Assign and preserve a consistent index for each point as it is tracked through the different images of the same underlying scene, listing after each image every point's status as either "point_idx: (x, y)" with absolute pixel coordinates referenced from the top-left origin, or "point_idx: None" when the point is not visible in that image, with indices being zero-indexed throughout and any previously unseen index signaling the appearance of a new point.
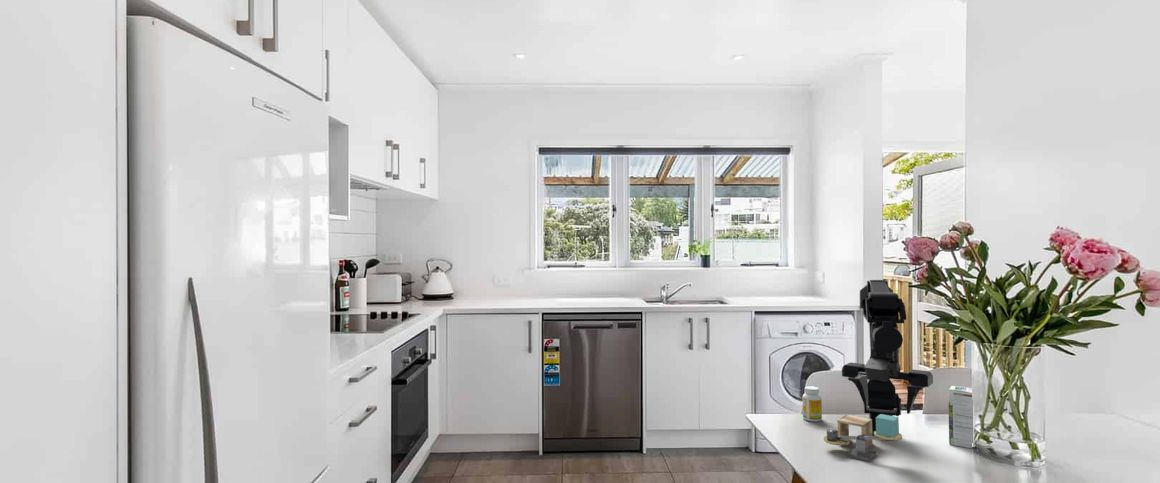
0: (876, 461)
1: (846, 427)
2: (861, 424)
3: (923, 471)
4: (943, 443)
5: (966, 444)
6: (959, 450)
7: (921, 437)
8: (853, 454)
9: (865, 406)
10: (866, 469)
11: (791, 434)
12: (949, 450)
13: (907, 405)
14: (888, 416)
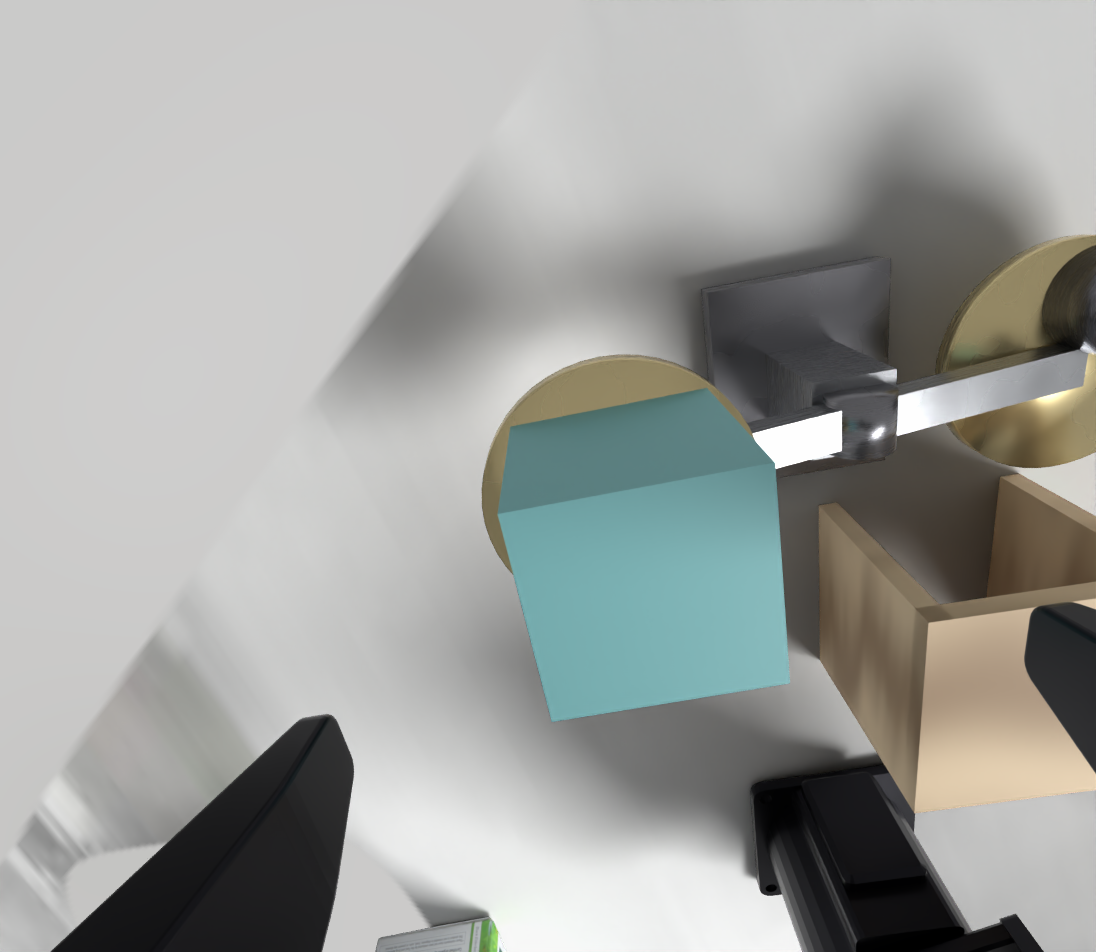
0: (665, 347)
1: None
2: (952, 620)
3: (351, 413)
4: (523, 915)
5: (411, 947)
6: (418, 878)
7: (644, 924)
8: (841, 281)
9: (1060, 603)
10: (645, 84)
11: None
12: (450, 848)
13: (230, 829)
14: (655, 653)
